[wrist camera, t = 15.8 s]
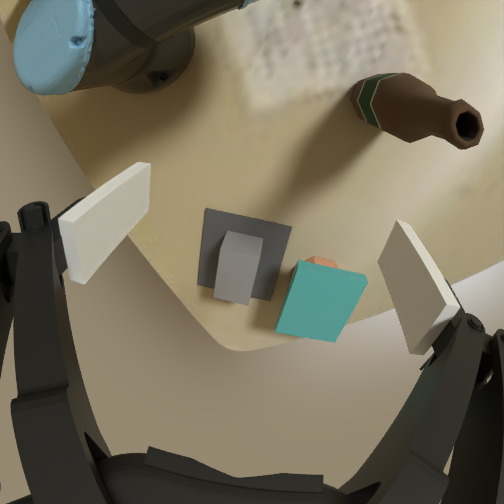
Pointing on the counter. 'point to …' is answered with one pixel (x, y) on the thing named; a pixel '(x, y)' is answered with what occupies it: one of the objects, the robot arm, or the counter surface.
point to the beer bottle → (415, 110)
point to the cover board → (319, 301)
